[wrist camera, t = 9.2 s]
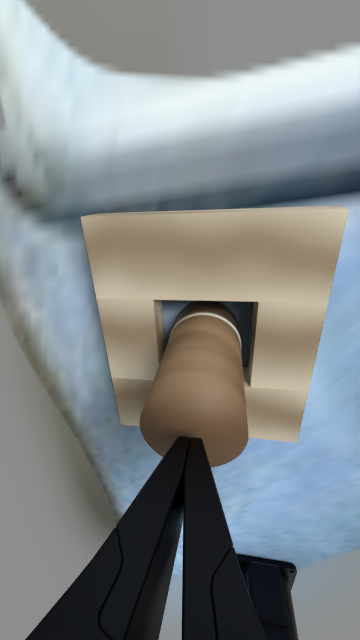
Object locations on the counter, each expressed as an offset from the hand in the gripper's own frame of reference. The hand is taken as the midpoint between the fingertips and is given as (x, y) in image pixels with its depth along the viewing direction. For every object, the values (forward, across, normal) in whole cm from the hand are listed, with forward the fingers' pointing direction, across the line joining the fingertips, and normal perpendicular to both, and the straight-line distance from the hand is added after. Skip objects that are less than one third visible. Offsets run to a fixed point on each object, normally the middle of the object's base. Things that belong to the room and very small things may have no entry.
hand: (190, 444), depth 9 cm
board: (+8, 0, 0) cm, 9 cm away
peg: (+8, 0, 0) cm, 9 cm away
